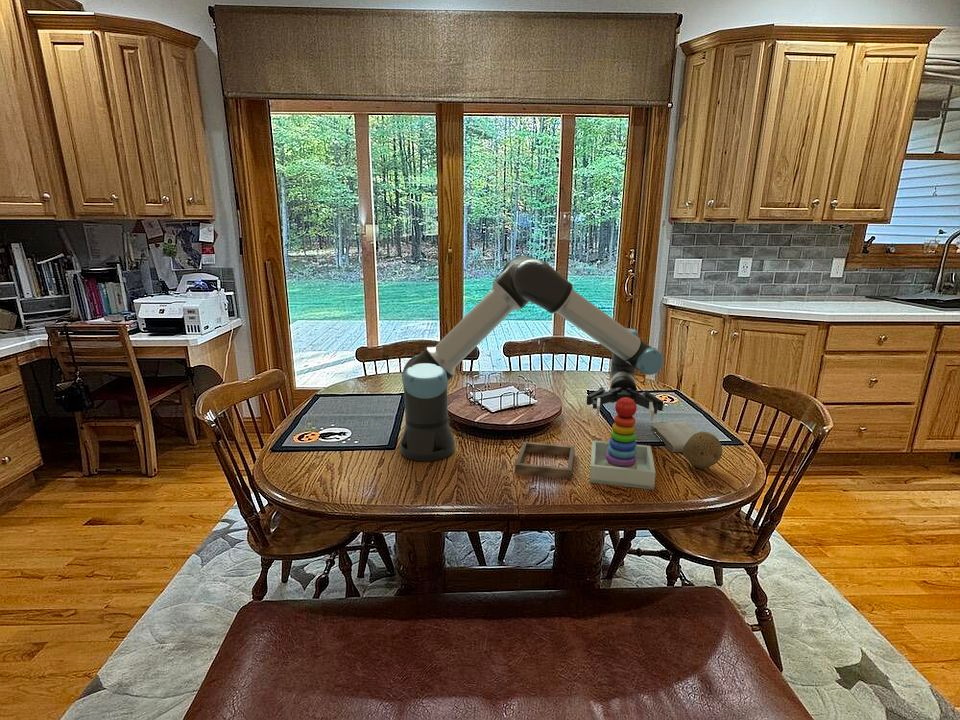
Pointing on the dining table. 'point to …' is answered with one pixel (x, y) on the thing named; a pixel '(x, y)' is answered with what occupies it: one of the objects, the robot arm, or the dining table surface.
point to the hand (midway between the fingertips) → (624, 413)
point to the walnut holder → (540, 469)
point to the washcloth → (673, 434)
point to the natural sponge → (703, 450)
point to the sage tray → (622, 468)
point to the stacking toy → (623, 436)
